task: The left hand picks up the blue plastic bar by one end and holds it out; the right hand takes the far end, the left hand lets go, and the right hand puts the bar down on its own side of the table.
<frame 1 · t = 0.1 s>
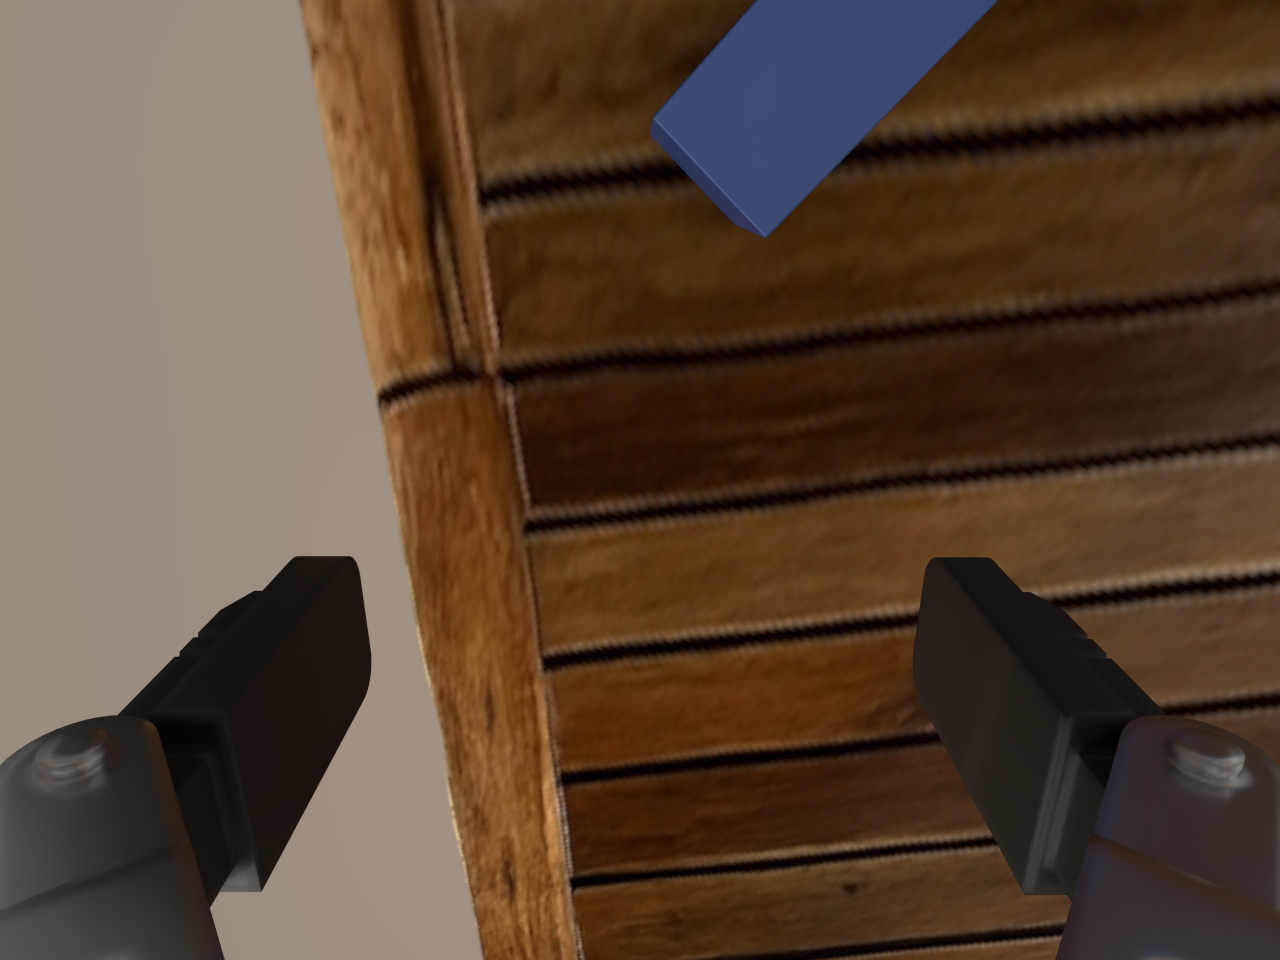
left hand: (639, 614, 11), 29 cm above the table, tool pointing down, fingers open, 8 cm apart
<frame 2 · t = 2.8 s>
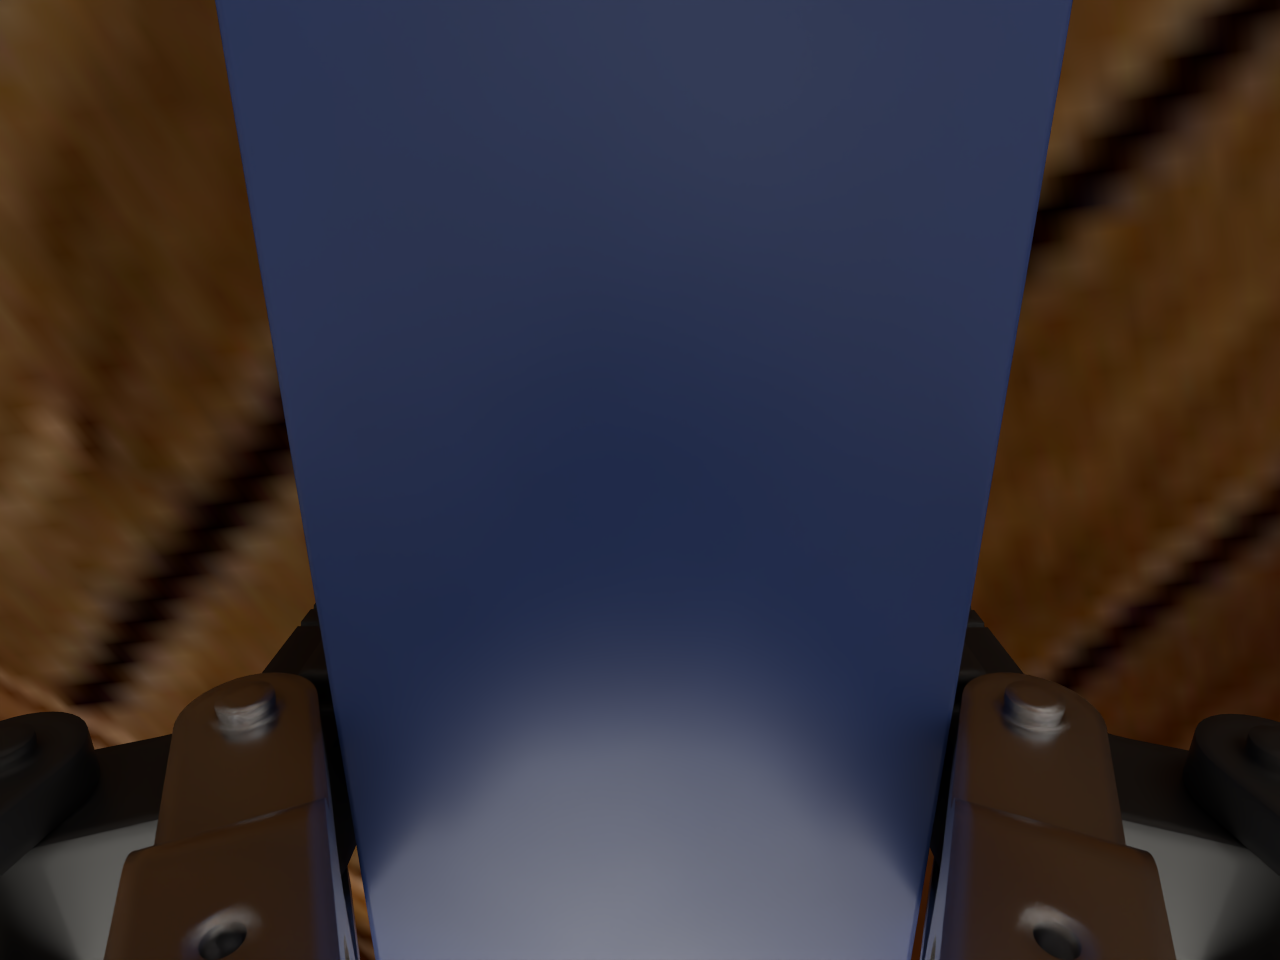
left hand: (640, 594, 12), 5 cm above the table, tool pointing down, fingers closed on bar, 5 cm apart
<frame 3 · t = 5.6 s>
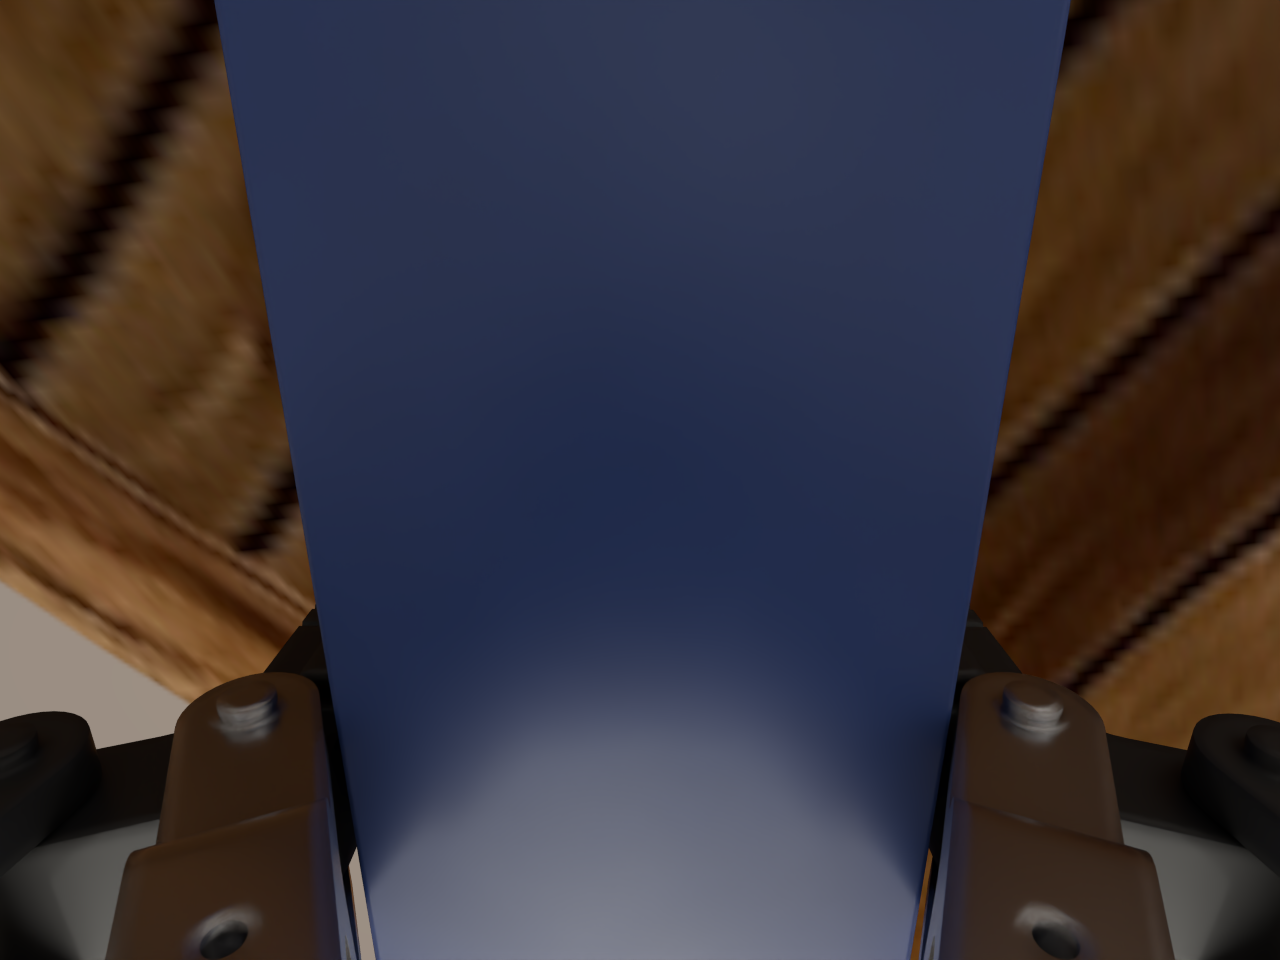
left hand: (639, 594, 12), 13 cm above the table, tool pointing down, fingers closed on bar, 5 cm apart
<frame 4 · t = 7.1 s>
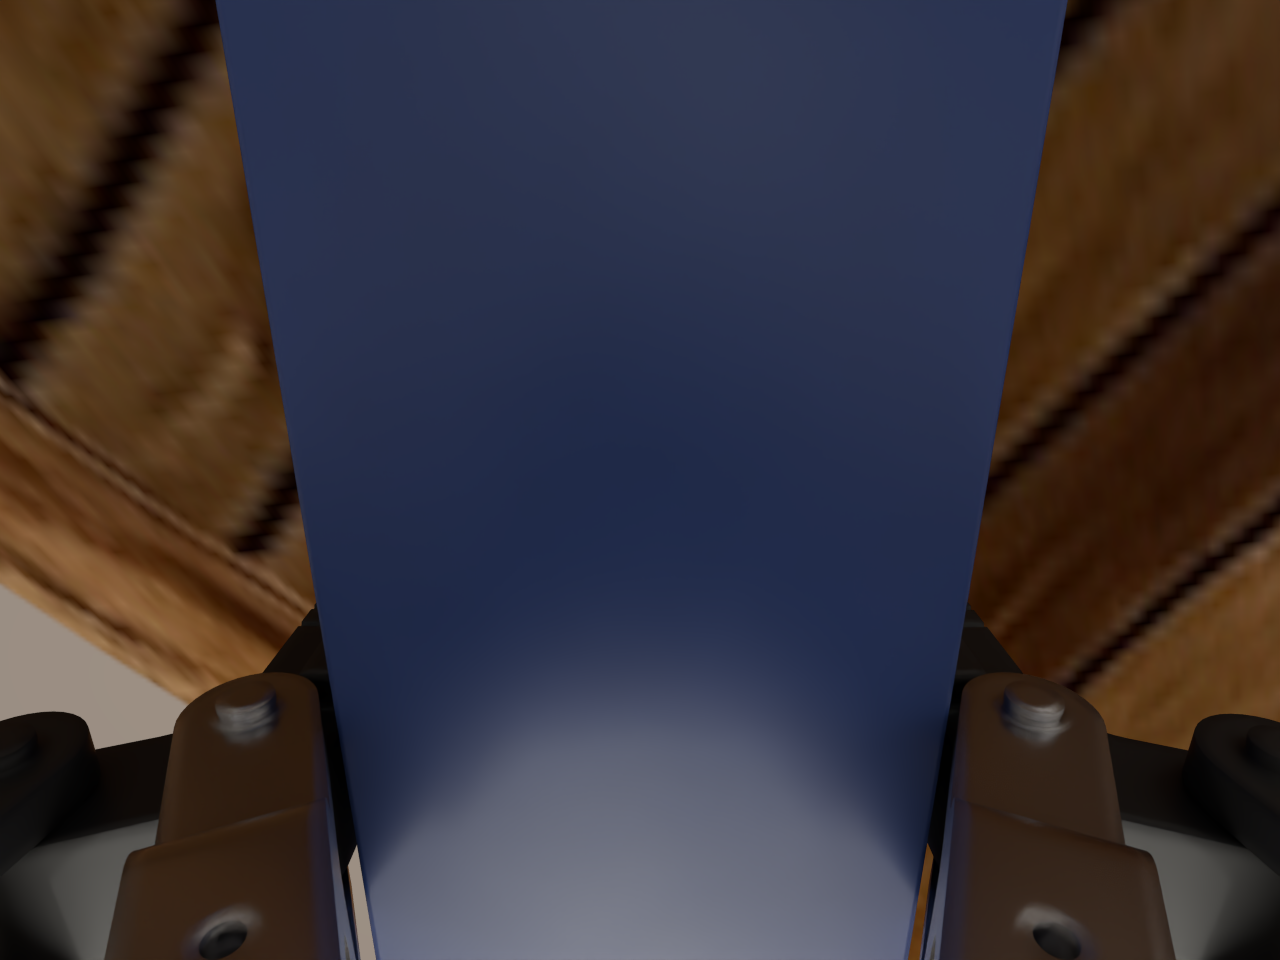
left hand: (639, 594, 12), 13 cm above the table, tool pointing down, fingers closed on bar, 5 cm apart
when the left hand's fingers open (13 cm above the table, at t = 8.2 s): bar stays where it is, held by the right hand.
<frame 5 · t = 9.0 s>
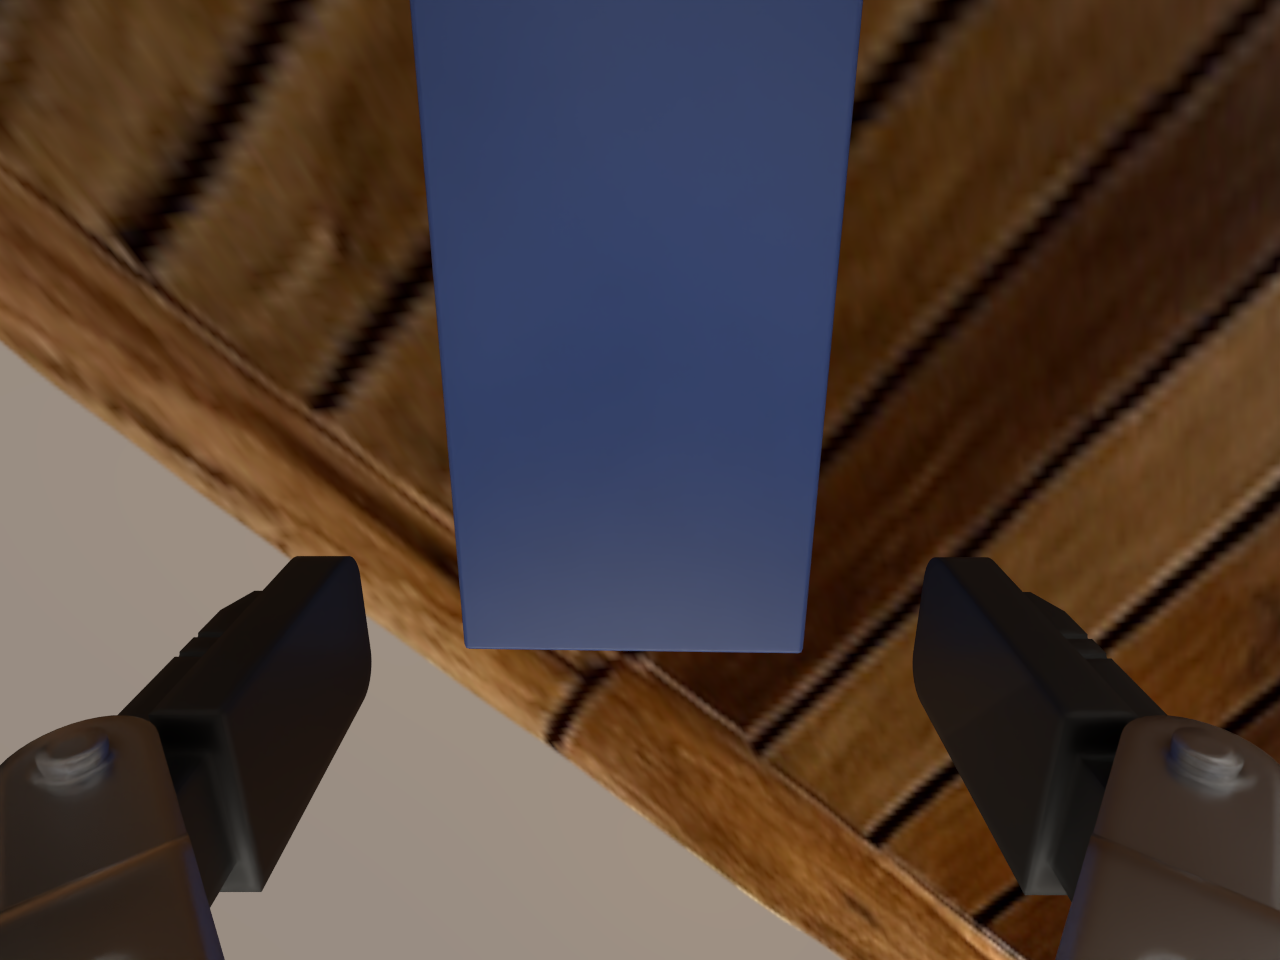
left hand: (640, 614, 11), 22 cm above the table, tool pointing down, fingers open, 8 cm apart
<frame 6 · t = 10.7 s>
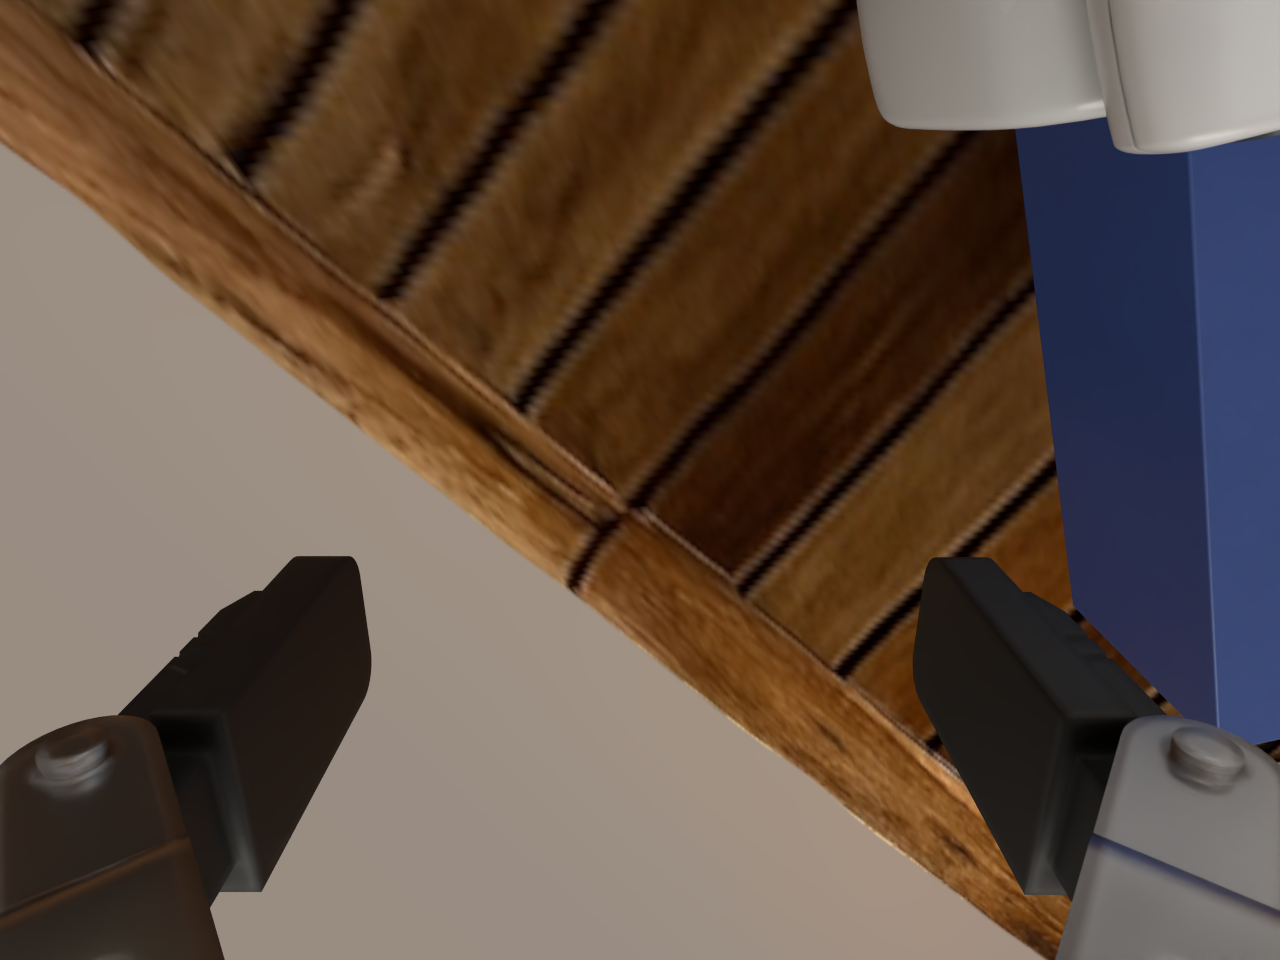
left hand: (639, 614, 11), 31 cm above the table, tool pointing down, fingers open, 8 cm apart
bar: (1111, 275, 29), point 11 cm above the table, touching right hand
when the right hand's fingers open (6 cm above the table, at t = 14.7 s): bar stays where it is, on the table.
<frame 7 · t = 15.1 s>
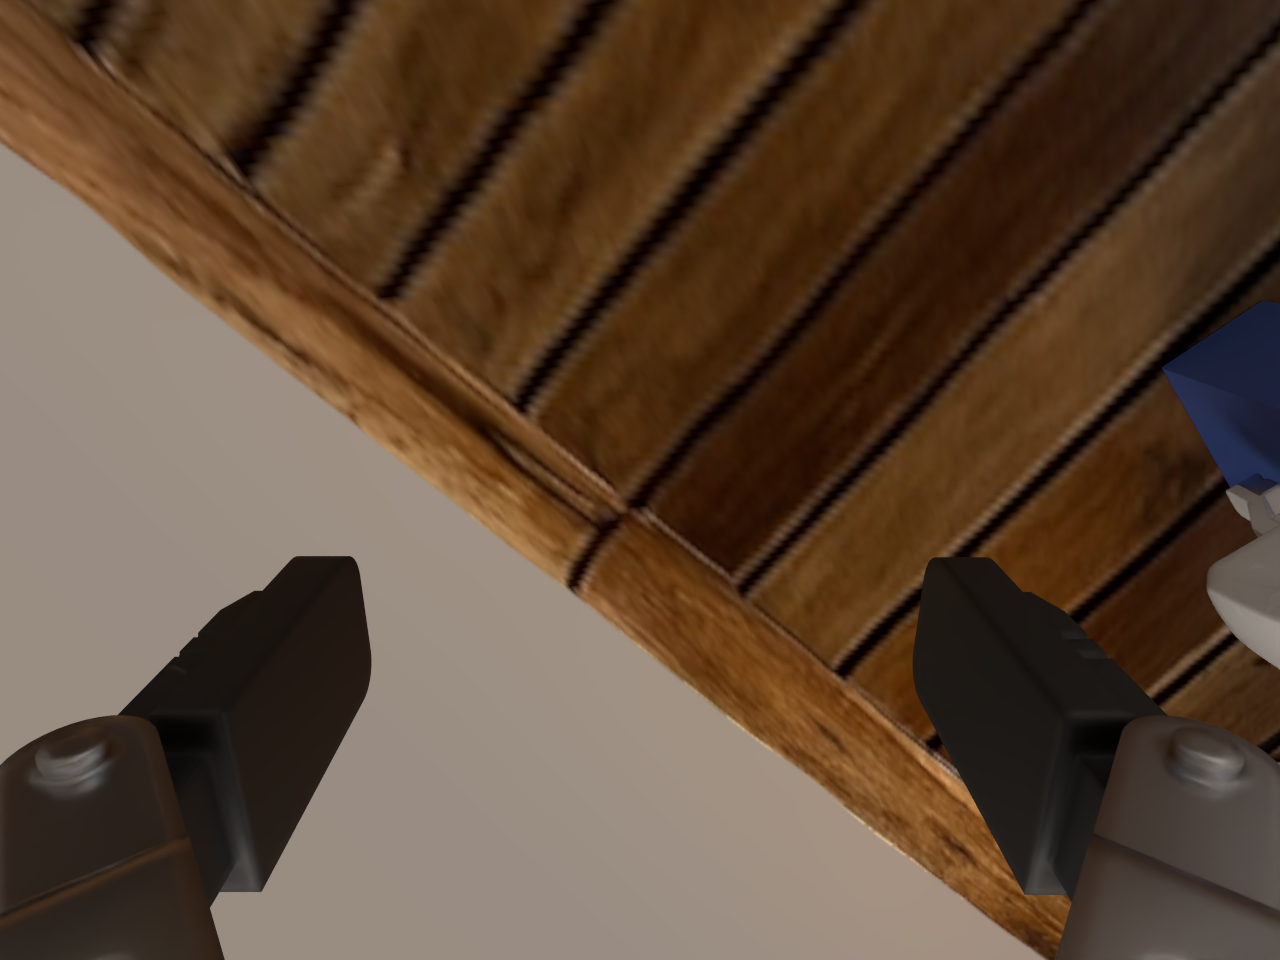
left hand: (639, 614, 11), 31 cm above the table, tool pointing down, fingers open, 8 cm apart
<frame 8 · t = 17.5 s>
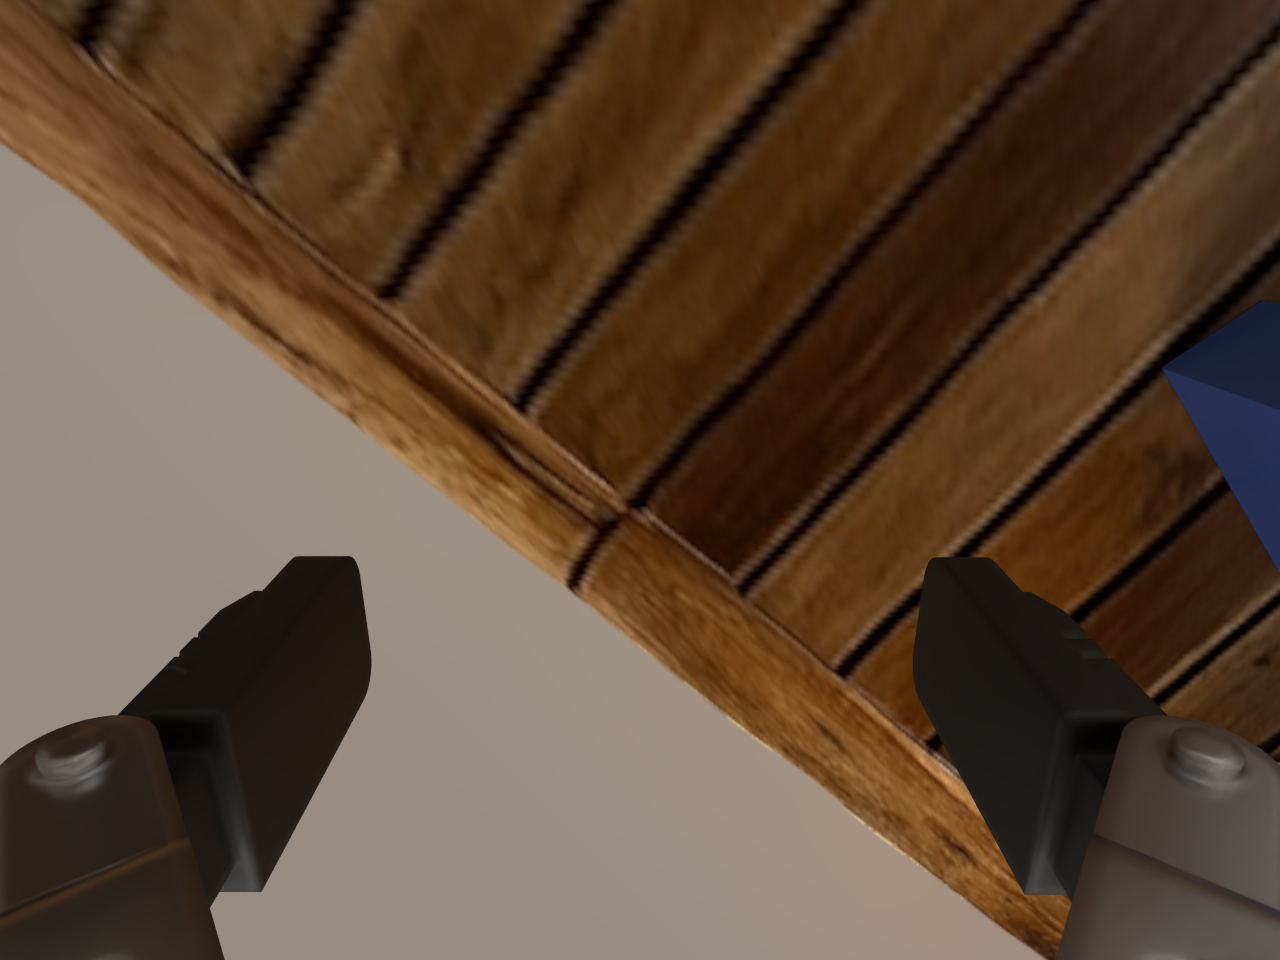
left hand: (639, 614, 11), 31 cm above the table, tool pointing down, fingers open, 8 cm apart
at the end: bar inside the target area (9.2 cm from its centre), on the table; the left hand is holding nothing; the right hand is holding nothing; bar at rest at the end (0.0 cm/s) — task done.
